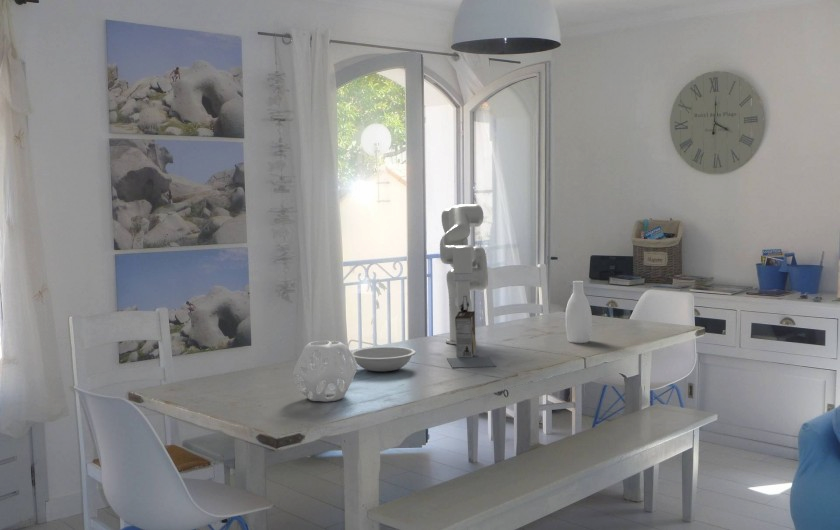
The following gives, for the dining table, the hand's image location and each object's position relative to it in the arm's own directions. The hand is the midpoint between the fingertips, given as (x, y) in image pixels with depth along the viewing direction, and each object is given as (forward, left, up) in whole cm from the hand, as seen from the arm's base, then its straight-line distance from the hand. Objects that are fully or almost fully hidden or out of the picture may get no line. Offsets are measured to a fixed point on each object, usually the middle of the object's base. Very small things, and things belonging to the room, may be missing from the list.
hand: (463, 324), depth 335 cm
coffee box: (+6, 0, -11) cm, 12 cm away
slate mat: (+19, 0, -12) cm, 22 cm away
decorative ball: (+68, -52, -12) cm, 86 cm away
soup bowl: (+27, -33, -12) cm, 44 cm away
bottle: (-20, +51, -12) cm, 56 cm away
